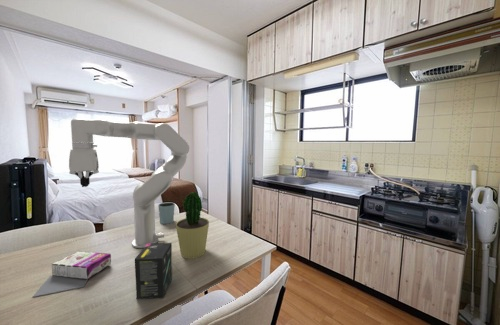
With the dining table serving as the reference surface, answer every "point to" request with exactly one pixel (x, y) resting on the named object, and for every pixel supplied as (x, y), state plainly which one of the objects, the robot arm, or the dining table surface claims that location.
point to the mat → (60, 285)
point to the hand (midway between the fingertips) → (85, 186)
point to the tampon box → (153, 270)
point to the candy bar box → (81, 264)
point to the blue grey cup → (166, 212)
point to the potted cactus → (192, 228)
